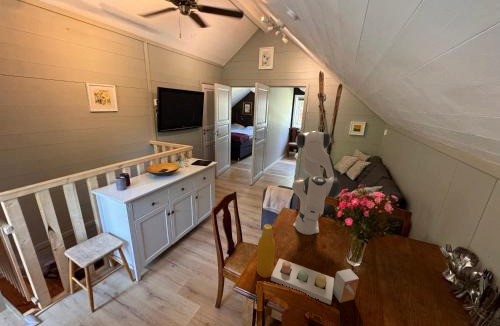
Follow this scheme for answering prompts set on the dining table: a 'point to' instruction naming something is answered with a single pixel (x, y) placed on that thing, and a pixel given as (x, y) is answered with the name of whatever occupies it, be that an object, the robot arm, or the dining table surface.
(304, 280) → the green button
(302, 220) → the robot arm
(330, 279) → the board
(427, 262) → the dining table surface
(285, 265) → the terracotta button
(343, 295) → the small box
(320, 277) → the mustard button
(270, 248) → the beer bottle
